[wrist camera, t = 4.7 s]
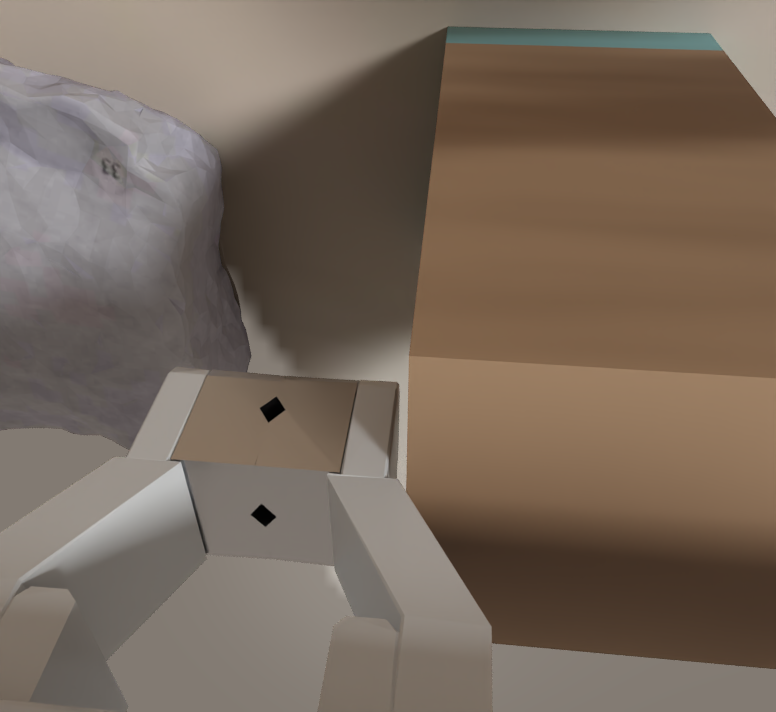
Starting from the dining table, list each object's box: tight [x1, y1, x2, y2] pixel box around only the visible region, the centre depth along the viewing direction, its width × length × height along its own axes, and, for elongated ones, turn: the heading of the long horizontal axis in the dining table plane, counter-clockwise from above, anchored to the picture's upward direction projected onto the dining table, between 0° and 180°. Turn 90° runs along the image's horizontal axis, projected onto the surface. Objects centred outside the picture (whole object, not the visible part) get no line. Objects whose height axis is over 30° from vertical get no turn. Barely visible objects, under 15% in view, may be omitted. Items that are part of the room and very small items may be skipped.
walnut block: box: [406, 27, 776, 669], centre depth 12 cm, size 5×5×10 cm
